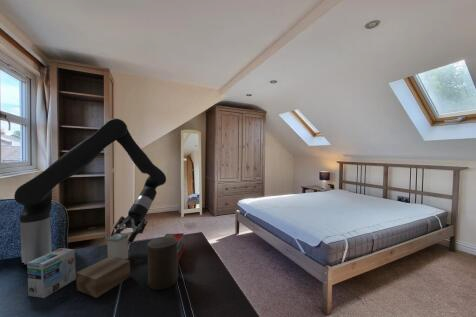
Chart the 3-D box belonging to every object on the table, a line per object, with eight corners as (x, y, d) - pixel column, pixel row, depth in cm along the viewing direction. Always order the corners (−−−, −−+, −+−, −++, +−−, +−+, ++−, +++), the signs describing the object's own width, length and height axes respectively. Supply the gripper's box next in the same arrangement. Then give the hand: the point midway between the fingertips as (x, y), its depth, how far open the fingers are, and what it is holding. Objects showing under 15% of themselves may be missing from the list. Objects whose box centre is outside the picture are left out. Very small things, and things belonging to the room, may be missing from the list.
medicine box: (166, 250, 95) (165, 233, 95) (184, 249, 96) (183, 232, 96) (154, 268, 80) (154, 248, 80) (176, 267, 81) (175, 247, 80)
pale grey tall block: (107, 262, 86) (106, 238, 86) (118, 256, 91) (117, 233, 91) (117, 264, 84) (116, 239, 84) (128, 257, 89) (127, 234, 89)
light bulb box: (44, 299, 64) (42, 264, 64) (27, 296, 66) (25, 262, 66) (77, 278, 75) (75, 248, 75) (61, 276, 76) (60, 247, 76)
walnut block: (76, 290, 68) (76, 272, 68) (112, 271, 79) (111, 255, 79) (96, 298, 64) (95, 279, 64) (130, 277, 75) (129, 260, 75)
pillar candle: (166, 292, 66) (165, 245, 66) (141, 287, 69) (140, 242, 69) (183, 275, 75) (182, 234, 75) (160, 271, 78) (159, 231, 78)
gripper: (124, 202, 99) (103, 235, 89) (148, 203, 95) (129, 238, 84) (133, 210, 105) (114, 242, 94) (157, 212, 100) (140, 246, 90)
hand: (121, 240), depth 89 cm, fingers open, 8 cm apart
